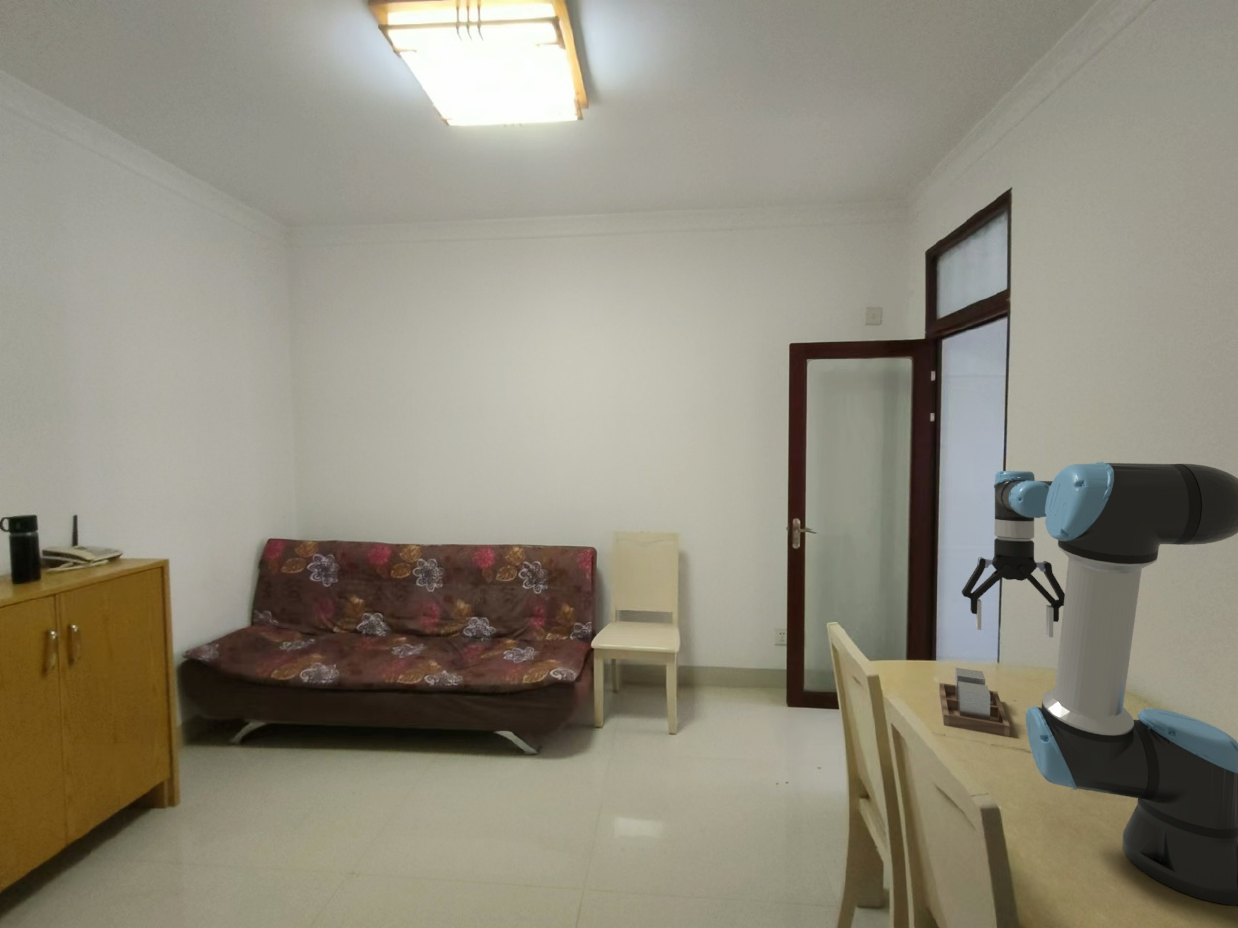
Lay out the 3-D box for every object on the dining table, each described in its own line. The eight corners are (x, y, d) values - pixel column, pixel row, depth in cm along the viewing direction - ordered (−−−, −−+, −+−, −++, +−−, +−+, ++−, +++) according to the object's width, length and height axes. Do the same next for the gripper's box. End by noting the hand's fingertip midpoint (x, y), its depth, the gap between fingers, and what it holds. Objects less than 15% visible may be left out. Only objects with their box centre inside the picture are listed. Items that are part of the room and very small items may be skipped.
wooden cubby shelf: (1009, 741, 132) (1009, 726, 131) (943, 729, 137) (943, 714, 137) (996, 704, 150) (996, 691, 150) (939, 695, 156) (939, 682, 156)
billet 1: (984, 711, 144) (985, 679, 144) (956, 706, 147) (957, 675, 147) (982, 702, 150) (982, 671, 149) (955, 697, 152) (955, 667, 152)
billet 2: (989, 729, 135) (990, 694, 135) (960, 723, 138) (960, 690, 138) (986, 718, 141) (987, 685, 140) (957, 713, 143) (958, 681, 143)
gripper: (1076, 540, 131) (1075, 634, 131) (949, 533, 141) (948, 621, 141) (1087, 544, 124) (1086, 643, 124) (952, 537, 134) (952, 629, 134)
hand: (1013, 631), depth 133 cm, fingers open, 13 cm apart
